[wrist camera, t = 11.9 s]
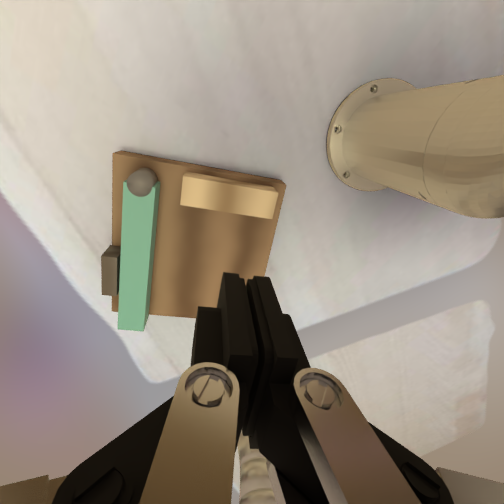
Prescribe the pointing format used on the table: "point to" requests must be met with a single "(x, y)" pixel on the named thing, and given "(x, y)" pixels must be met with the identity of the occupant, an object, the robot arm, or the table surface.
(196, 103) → the table surface
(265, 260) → the stool seat
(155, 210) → the folding leg
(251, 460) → the plastic bottle
